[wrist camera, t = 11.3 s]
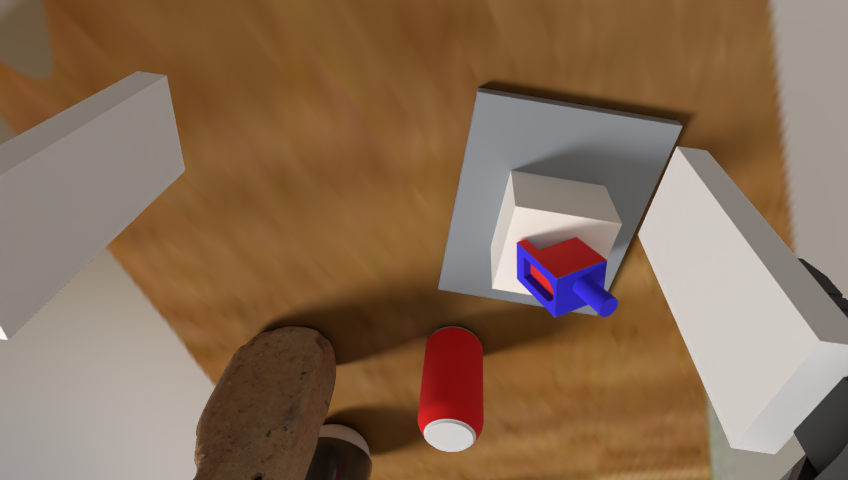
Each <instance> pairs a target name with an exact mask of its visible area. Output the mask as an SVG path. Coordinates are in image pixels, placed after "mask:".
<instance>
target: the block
mask: <svg viewBox="0 0 848 480" xmlns="http://www.w3.org/2000/svg"><path fill="white" fill-rule="evenodd" d="M335 379H336V360H335V354H334V350H333V347H332V344H331V343H330V342H329V340H328V339H325V338H324V337H323V336H322V335H321V334H320V333H319V332H318V331H317V330H314V329H310V328H306V327H295V326H288V327H283V328H279V329H276V330H274V331H267V332H262V333H260V334H258V335H257V336H254V337H253V338H252V339H251V340H250V341H249V342H248V343H247V344H246V345H244V346H241V347H240V348H239V349H238V350H237V351H236V353H235V354H234V356H233V357H232V359H231V360H230V362H229V364H228V365H227V367H226V369H225V370H224V372H223V374H222V376H221V378H220V379H219V381H218V383H217V385H216V387H215V389H214V391H213V392H212V394H211V396H210V398H209V400H208V402H207V404H206V406H205V408H204V410H203V412H202V415H201V418H200V420H199V422H198V426H197V430H196V436H197V439H196V440H197V441H196V450H195V459H194V461H195V464H196V466H197V473H196V476H195V478H194V479H193V480H305V477H306V475H307V472H308V469H309V466H310V463H311V460H312V458H313V455H314V452H315V449H316V445H317V442H318V438H319V433H320V429H321V426H322V425H323V423H324V421H325V418H326V415H327V412H328V409H329V405H330V402H331V398H332V394H333V390H334V385H335Z"/></svg>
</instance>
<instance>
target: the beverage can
mask: <svg viewBox="0 0 848 480" xmlns="http://www.w3.org/2000/svg"><path fill="white" fill-rule="evenodd" d="M483 422H484V421H483V349H482V345H481V343H480V341H479V339H478V338H477V337H476V335H474V334H473V333H472V332H471V331H469V330H467V329H464V328H461V327H455V326H450V327H444V328H440V329H438V330H436V331H435V332H433V333H432V334H431V336H430V337H429V339H428V341H427V343H426V349H425V358H424V367H423V375H422V384H421V392H420V401H419V410H418V425H419V428H420V430H421V432H422V434H423V436H424V438H425V440H426V441H427V442H428V443H429V444H430V445H431V446H433V447H435V448H437V449H439V450H443V451H448V452H457V451H462V450H465V449H467V448H469V447H471V446H472V445H473V444H474V442H475V441H476V440H477V438H478V437H479V435H480V433H481V431H482V428H483Z"/></svg>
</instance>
